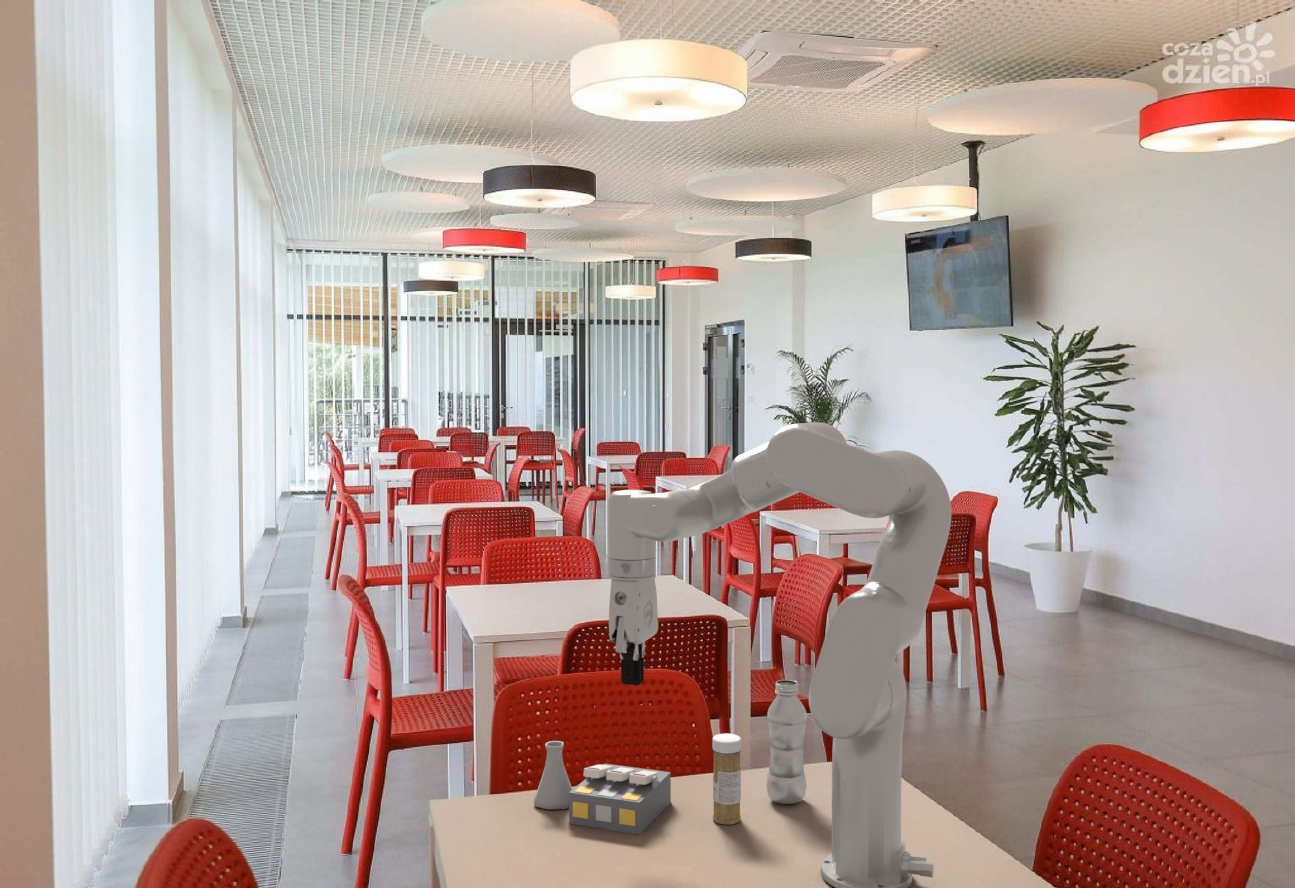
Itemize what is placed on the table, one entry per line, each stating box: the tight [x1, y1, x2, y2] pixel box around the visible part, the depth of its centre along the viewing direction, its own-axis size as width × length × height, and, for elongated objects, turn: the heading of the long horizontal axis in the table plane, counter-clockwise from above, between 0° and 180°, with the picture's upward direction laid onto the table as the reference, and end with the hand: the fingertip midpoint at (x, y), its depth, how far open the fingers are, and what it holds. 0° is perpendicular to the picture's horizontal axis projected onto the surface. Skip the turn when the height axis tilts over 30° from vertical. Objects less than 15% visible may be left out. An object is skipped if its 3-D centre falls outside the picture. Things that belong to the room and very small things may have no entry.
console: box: [568, 763, 672, 836], centre depth 170 cm, size 12×14×7 cm
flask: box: [533, 740, 574, 810], centre depth 174 cm, size 7×7×10 cm
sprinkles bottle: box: [711, 732, 742, 825], centre depth 166 cm, size 5×5×14 cm
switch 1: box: [583, 764, 613, 778], centre depth 171 cm, size 3×6×1 cm, turn 159°
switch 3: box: [629, 770, 658, 785], centre depth 168 cm, size 3×6×1 cm, turn 159°
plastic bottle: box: [766, 679, 808, 805], centre depth 174 cm, size 6×7×20 cm
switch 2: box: [606, 767, 636, 781], centre depth 170 cm, size 3×6×1 cm, turn 159°
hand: (632, 682), depth 166 cm, fingers closed
